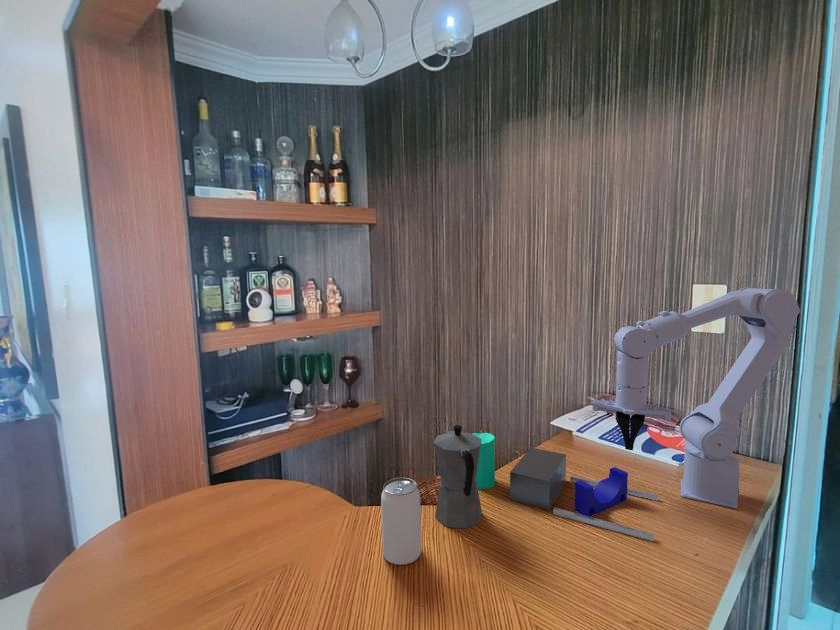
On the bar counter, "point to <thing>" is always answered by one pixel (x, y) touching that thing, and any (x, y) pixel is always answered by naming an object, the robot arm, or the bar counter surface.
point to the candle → (486, 461)
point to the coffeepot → (458, 478)
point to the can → (401, 521)
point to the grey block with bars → (558, 488)
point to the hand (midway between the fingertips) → (629, 448)
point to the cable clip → (601, 493)
